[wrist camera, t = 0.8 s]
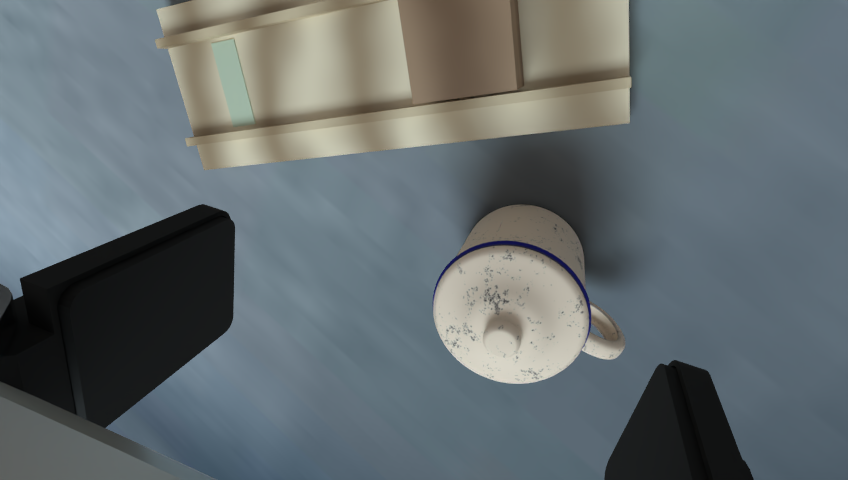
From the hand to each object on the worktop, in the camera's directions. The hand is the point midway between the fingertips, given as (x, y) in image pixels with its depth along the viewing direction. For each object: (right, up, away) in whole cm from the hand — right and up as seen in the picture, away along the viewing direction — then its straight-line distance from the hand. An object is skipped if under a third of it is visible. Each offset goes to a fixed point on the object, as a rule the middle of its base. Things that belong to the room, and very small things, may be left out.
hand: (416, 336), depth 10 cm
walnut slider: (+3, +14, +19) cm, 24 cm away
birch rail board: (-3, +15, +23) cm, 27 cm away
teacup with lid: (+9, 0, +25) cm, 26 cm away
